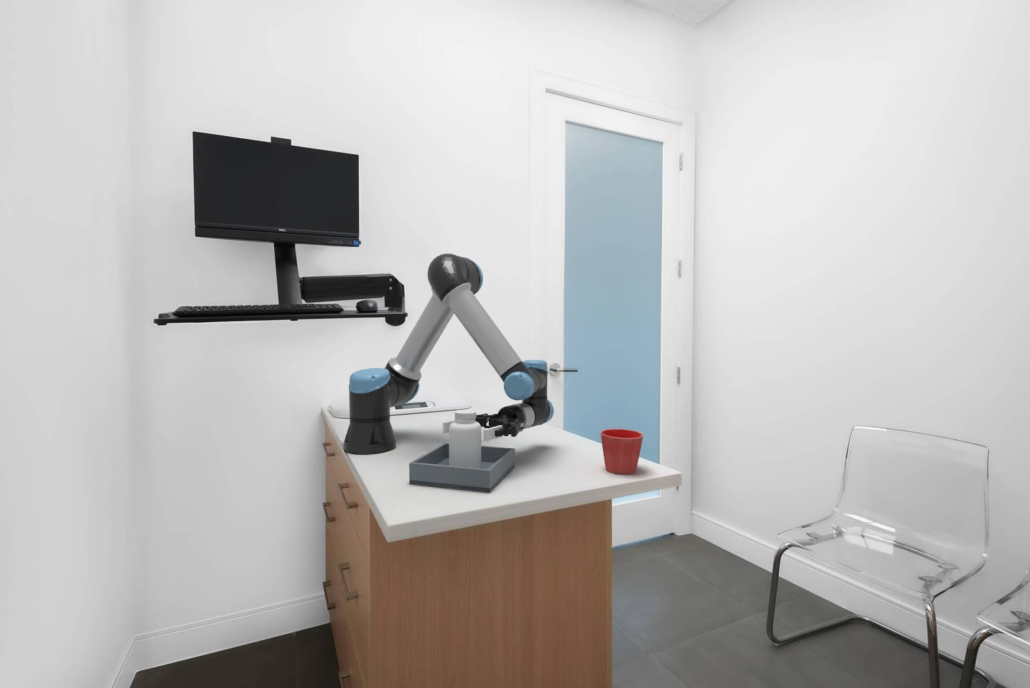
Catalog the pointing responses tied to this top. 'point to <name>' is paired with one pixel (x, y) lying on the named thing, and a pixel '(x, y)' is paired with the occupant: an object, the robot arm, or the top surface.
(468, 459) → the pill bottle
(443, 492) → the top surface
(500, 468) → the tray
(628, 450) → the flower pot
